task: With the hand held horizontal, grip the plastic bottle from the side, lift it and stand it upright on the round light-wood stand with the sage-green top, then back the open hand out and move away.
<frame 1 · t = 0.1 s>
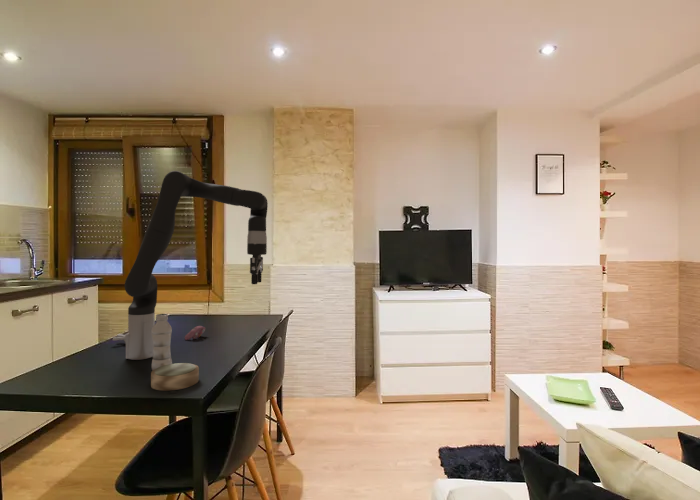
hand: (256, 283, 156), 29 cm above the table, tool pointing down, fingers open, 8 cm apart
plastic bottle: (161, 372, 136), on the table
wooden stand: (175, 382, 125), on the table
bunny figurine: (133, 344, 175), on the table
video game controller: (195, 338, 186), on the table
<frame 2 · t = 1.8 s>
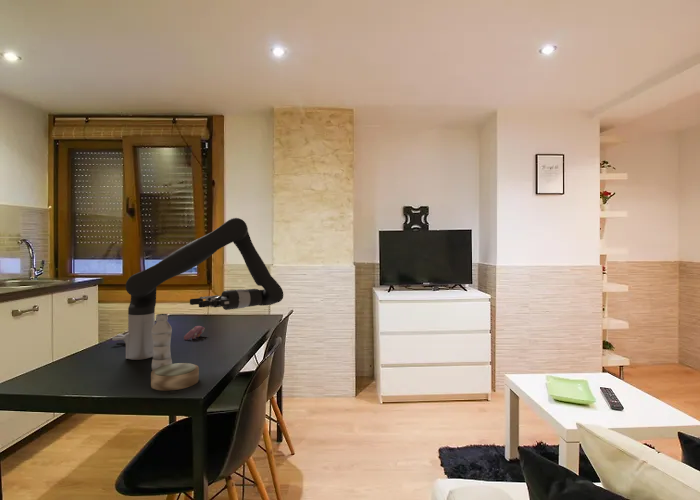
hand: (194, 303, 143), 23 cm above the table, tool horizontal, fingers open, 8 cm apart
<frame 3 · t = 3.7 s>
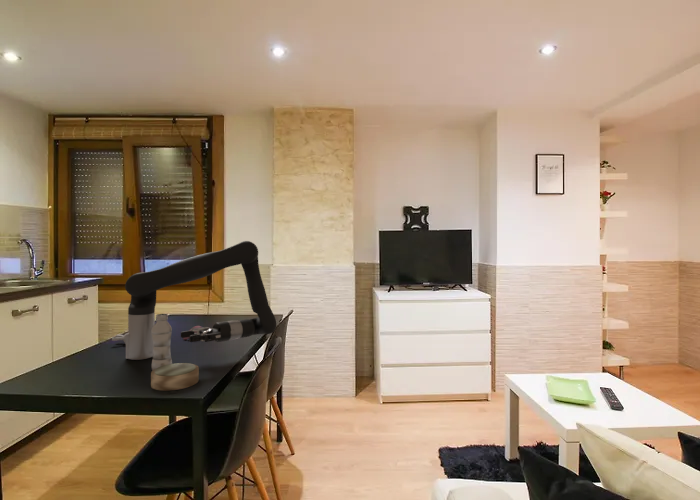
hand: (185, 337, 141), 11 cm above the table, tool horizontal, fingers open, 8 cm apart
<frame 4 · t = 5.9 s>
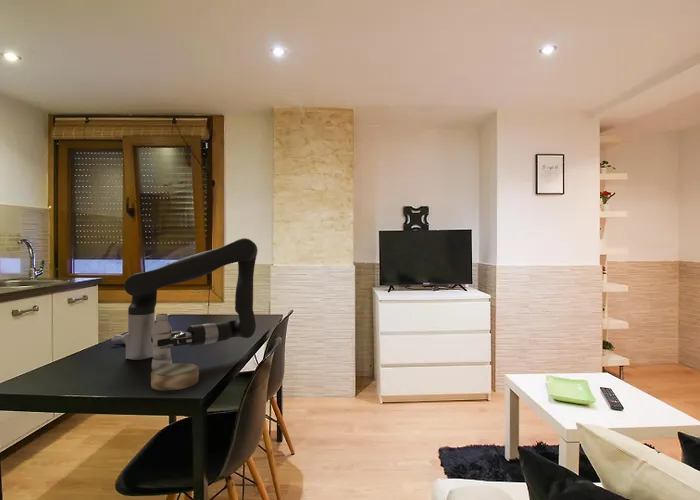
hand: (154, 341, 134), 11 cm above the table, tool horizontal, fingers closed on plastic bottle, 6 cm apart
plastic bottle: (161, 372, 136), on the table, touching gripper
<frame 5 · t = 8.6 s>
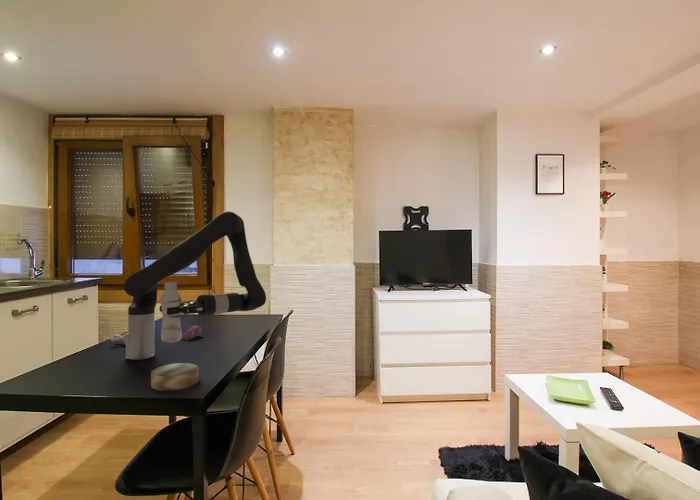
hand: (163, 310, 128), 23 cm above the table, tool horizontal, fingers closed on plastic bottle, 6 cm apart
plastic bottle: (171, 342, 130), point 12 cm above the table, touching gripper
when the fingers open (17 cm above the table, at t = 11.1 s): plastic bottle drops 1 cm, resting on wooden stand.
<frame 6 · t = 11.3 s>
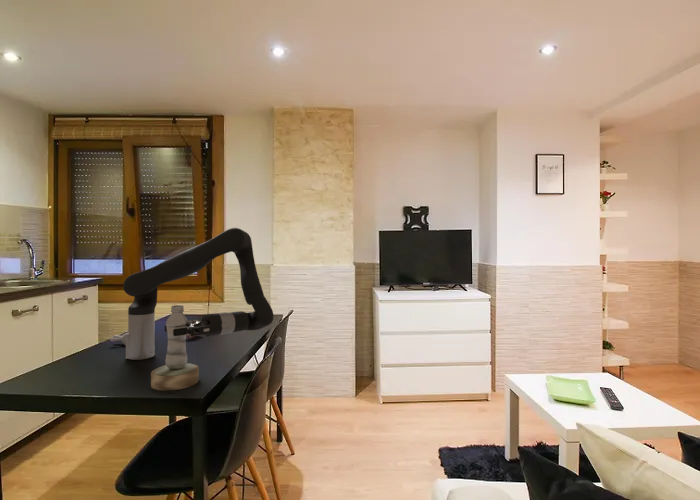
hand: (169, 330, 124), 17 cm above the table, tool horizontal, fingers open, 8 cm apart
plastic bottle: (176, 368, 125), point 4 cm above the table, touching wooden stand
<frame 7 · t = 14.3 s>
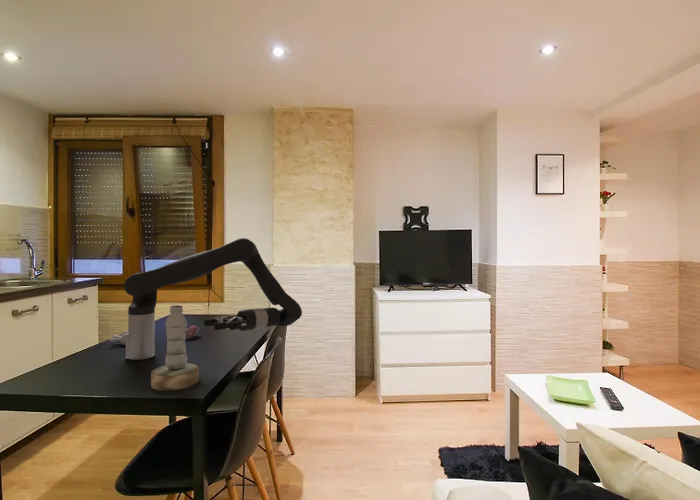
hand: (209, 325, 132), 17 cm above the table, tool horizontal, fingers open, 8 cm apart
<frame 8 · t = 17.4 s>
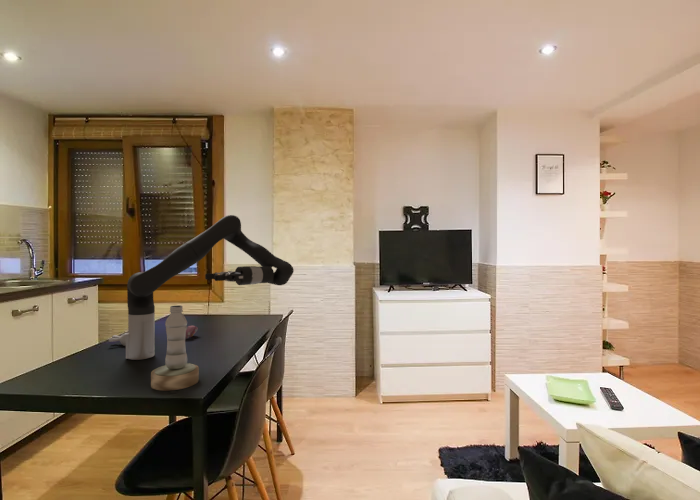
hand: (210, 277, 149), 32 cm above the table, tool horizontal, fingers open, 8 cm apart
at the end: plastic bottle inside the target area on the wooden stand (0.2 cm from its centre), point 4.3 cm above the wooden stand's base; plastic bottle tilted 0°; the gripper is holding nothing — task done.
